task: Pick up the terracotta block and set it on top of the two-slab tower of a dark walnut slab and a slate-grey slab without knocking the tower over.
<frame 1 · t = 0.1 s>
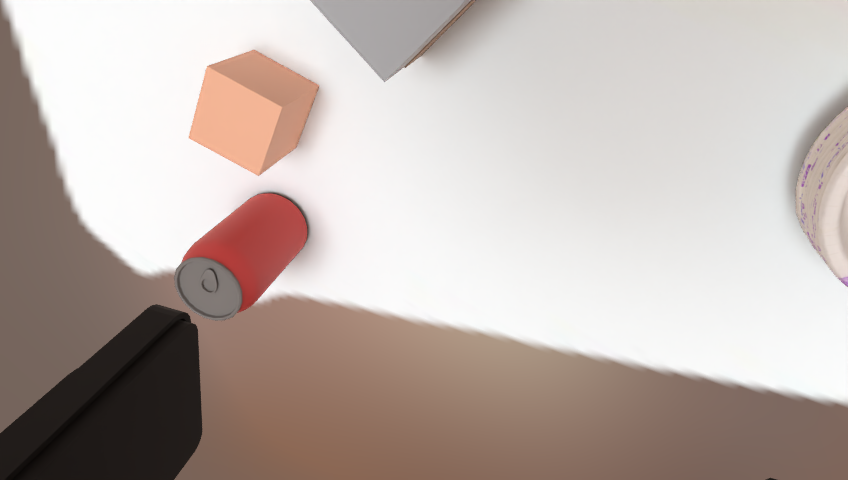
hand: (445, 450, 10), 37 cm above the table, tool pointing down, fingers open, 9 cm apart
terracotta block: (276, 100, 48), on the table
beer can: (278, 222, 54), on the table
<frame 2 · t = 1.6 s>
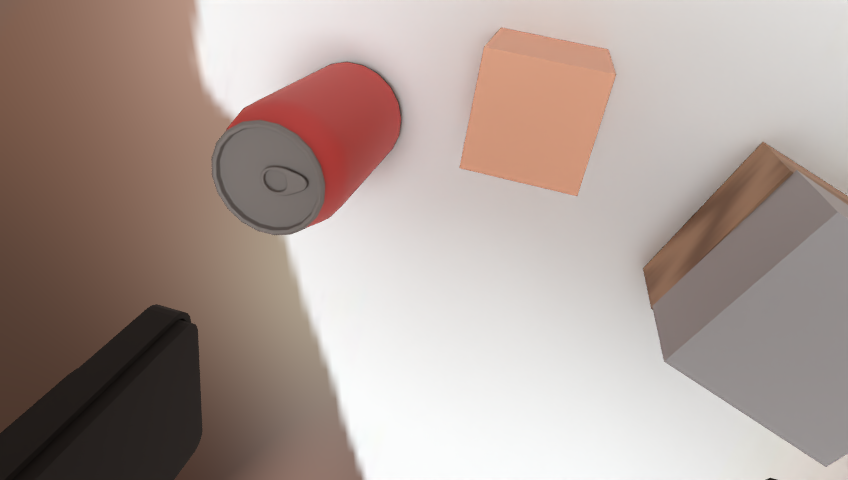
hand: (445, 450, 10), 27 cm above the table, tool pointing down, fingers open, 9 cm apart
terracotta block: (540, 91, 33), on the table
walnut slab: (766, 251, 35), on the table, touching slate slab
slate slab: (794, 294, 30), point 5 cm above the table, touching walnut slab
beer can: (354, 112, 37), on the table
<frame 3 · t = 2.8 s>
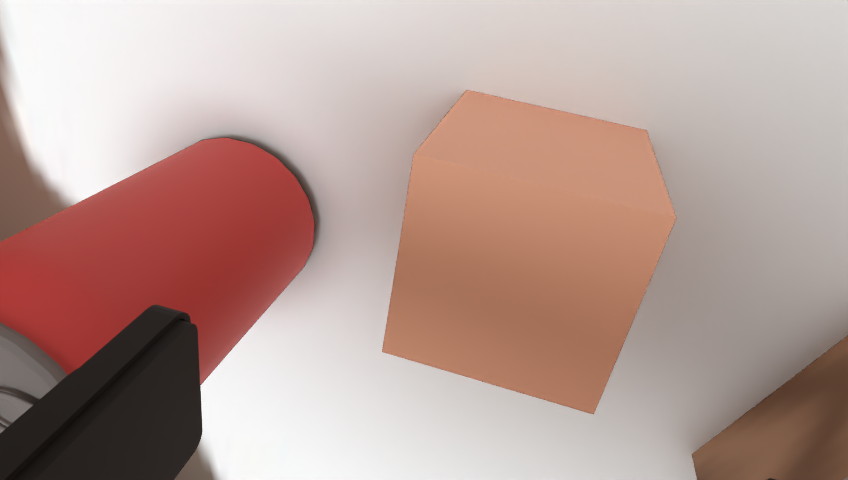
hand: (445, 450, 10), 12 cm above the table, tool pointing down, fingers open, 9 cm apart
terracotta block: (532, 191, 20), on the table
beer can: (249, 208, 24), on the table
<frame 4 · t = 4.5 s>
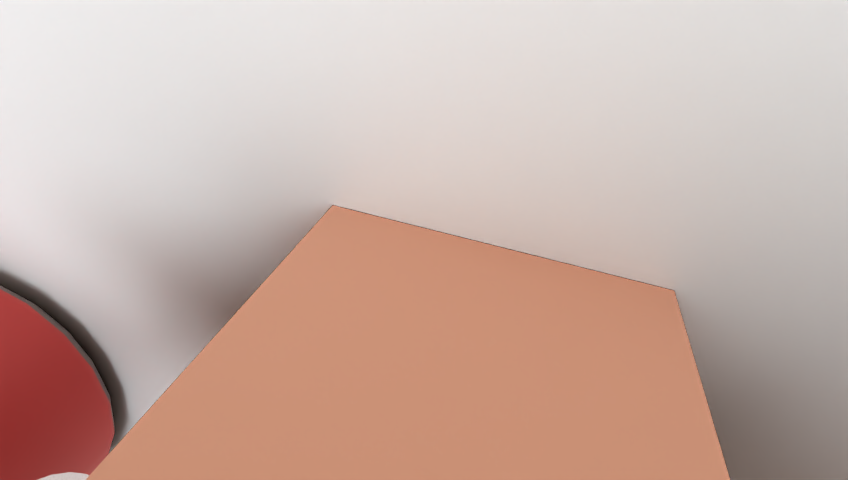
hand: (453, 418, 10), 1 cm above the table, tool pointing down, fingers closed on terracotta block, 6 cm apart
terracotta block: (464, 376, 11), on the table, touching gripper
beer can: (18, 365, 15), on the table
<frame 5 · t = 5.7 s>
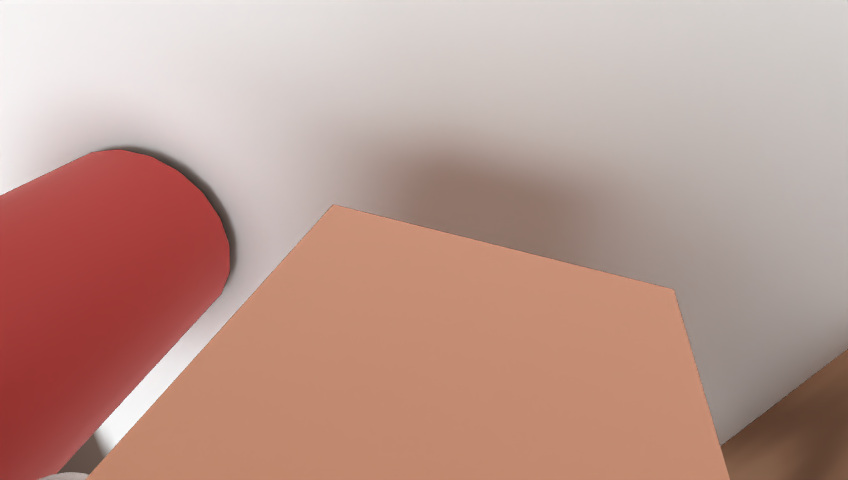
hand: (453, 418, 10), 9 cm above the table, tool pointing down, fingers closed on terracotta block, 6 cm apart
terracotta block: (464, 374, 11), point 7 cm above the table, touching gripper
beer can: (156, 228, 21), on the table
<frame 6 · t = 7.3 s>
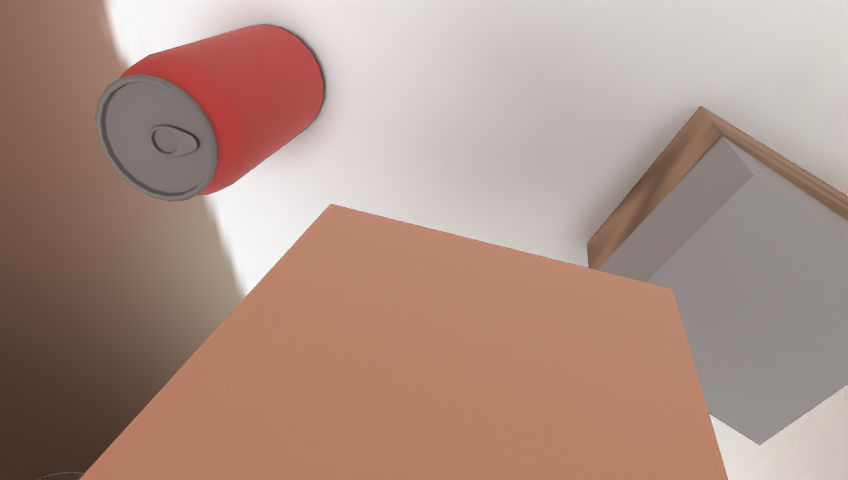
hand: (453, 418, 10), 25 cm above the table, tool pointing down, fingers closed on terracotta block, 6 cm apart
terracotta block: (462, 374, 11), point 24 cm above the table, touching gripper
walnut slab: (711, 221, 33), on the table, touching slate slab
slate slab: (728, 267, 29), point 5 cm above the table, touching walnut slab
beer can: (277, 79, 35), on the table
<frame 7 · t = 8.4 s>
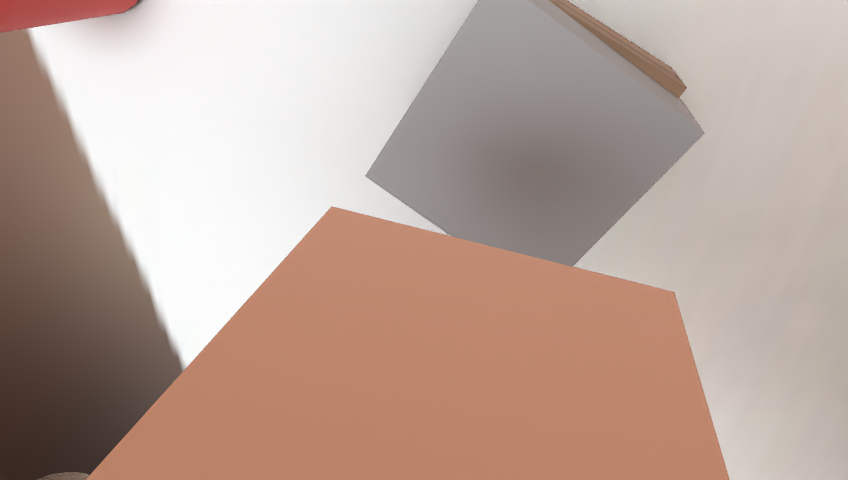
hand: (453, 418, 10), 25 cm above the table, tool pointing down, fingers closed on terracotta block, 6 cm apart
terracotta block: (463, 377, 11), point 24 cm above the table, touching gripper
walnut slab: (537, 96, 33), on the table, touching slate slab
slate slab: (528, 123, 28), point 5 cm above the table, touching walnut slab
when the fingers open (12 cm above the table, at t = 13.4 s): terracotta block moves 1 cm, resting on slate slab.
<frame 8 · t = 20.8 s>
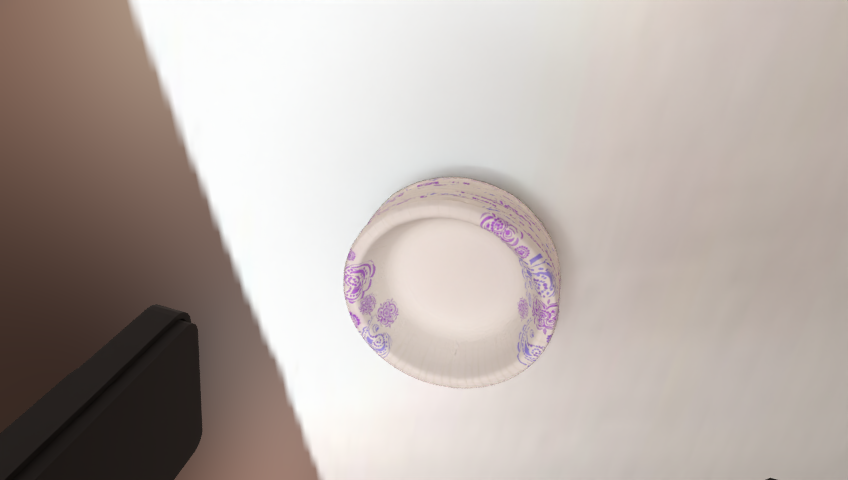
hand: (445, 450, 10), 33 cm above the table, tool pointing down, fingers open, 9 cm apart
paper bowls: (464, 250, 46), on the table
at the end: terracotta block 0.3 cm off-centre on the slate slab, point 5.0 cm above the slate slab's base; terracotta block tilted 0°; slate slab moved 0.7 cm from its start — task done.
